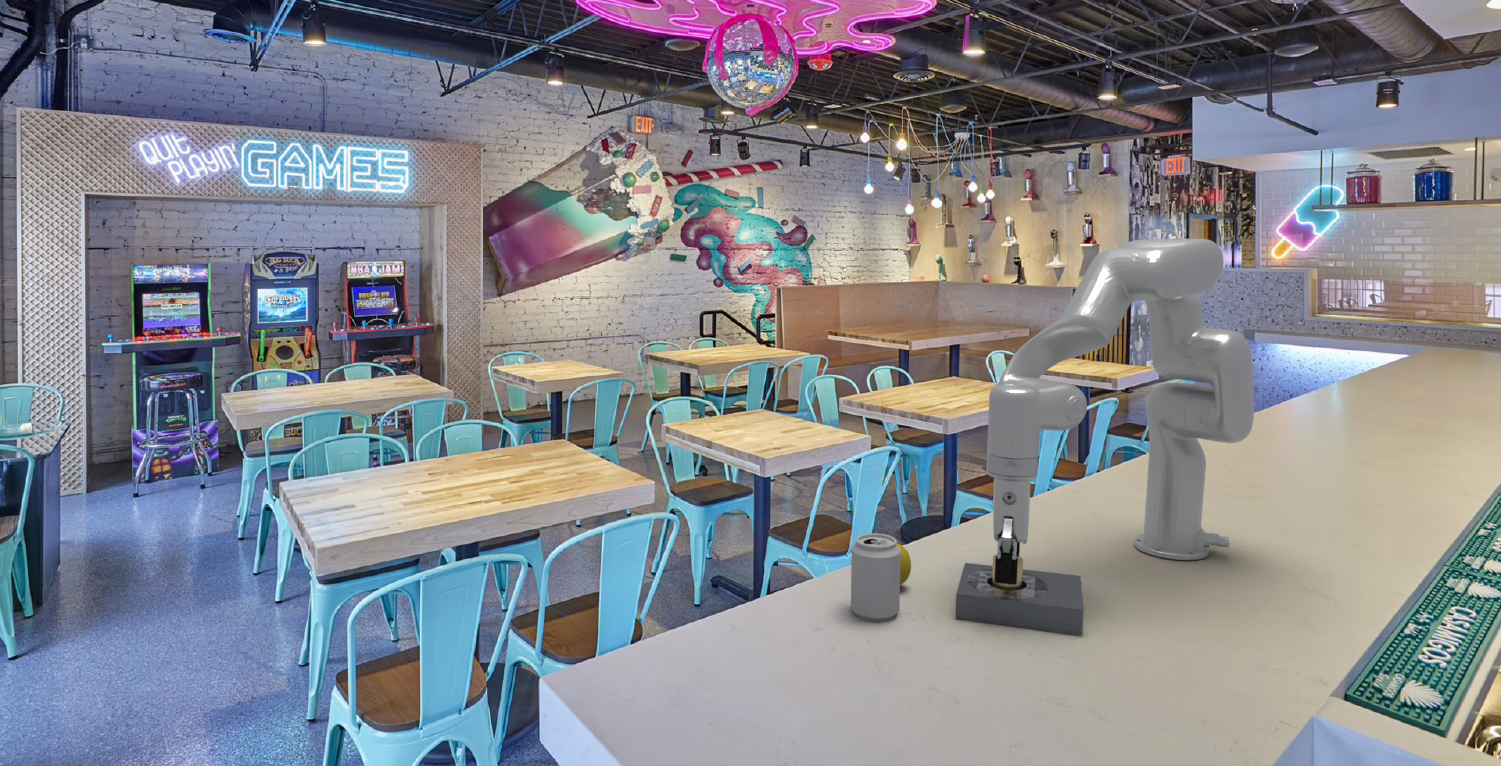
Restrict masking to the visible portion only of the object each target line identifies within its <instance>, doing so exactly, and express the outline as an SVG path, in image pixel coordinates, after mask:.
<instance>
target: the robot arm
mask: <svg viewBox="0 0 1501 766" xmlns="http://www.w3.org/2000/svg"><path fill="white" fill-rule="evenodd" d="M1223 254H1224V253H1223V251H1222V250H1221V247H1220V246H1219V245H1218V244H1216V243H1215V241H1213V240H1210V239H1207V238H1154V239H1153V238H1152V239H1151V238H1149V239H1147V238H1146V239H1136V240H1132V241H1127V242H1125V243H1123V244H1121V245H1120V246H1119V247H1116V248H1109V249H1106V250H1102V251H1101V252H1099V253H1098V254H1097V255H1096V256H1094V258H1093V259H1092V261H1091V262H1090V264H1089V265H1088V266H1087V267H1088V268H1087V269H1086V271H1085V273H1084V275H1083V276H1082V279H1080V282H1079V284H1078V286H1077V288H1076V289H1075V292H1073V296H1072V297H1071V299H1070V301H1069V303H1068V304H1067V307H1066V308H1065V310H1064V312H1063V314H1062V316H1061V317H1060V318H1059V319H1058V320H1057V321H1055V322H1054V323H1052V324H1050V325H1049V326H1047V327H1045V328H1044V329H1042V330H1041V331H1039V332H1038V333H1037V334H1036V335H1034V336H1033V337H1032V338H1030V339H1029V340H1028V341H1026V342H1025V343H1024V344H1023V345H1022V346H1020V347H1019V349H1018V350H1016V351H1015V353H1014V354H1013V356H1012V357H1011V359H1010V361H1009V362H1008V364H1007V366H1006V368H1005V369H1004V370H1003V373H1002V374H1001V377H1000V379H999V381H998V383H997V385H995V386H994V387H992V388H991V390H990V393H989V397H988V417H987V418H988V421H987V422H988V423H987V447H986V448H987V449H986V450H987V451H986V470H985V472H986V475H988V476H989V477H992V478H993V495H992V496H993V497H992V498H993V500H992V510H993V511H992V521H993V522H992V525H993V526H992V527H993V540H995V541H996V542H997V549H996V550H997V551H996V554H997V556H996V558H995V582H996V583H1003V584H1011V585H1016V583H1017V568H1018V558H1016V555H1017V556H1020V552H1021V551H1020V550H1021V549H1020V547H1021V543H1022V545H1025V544H1027V543H1028V539H1029V538H1028V537H1029V525H1030V524H1029V523H1030V503H1031V480H1033V479H1036V478H1038V471H1039V469H1038V466H1039V465H1038V464H1039V448H1040V447H1039V446H1040V433H1041V431H1055V432H1056V431H1068V430H1071V429H1073V428H1075V427H1077V426H1078V425H1079V424H1080V423H1081V422H1082V421H1083V419H1084V418H1085V416H1086V413H1087V411H1088V410H1087V409H1088V401H1087V397H1086V396H1085V394H1084V392H1083V391H1082V390H1081V389H1080V388H1079V387H1077V386H1075V385H1073V384H1071V383H1068V382H1064V381H1058V380H1057V381H1055V380H1051V379H1050V380H1049V379H1044V378H1041V377H1042V375H1044V374H1045V373H1046V372H1047V371H1048V370H1050V369H1051V368H1052V367H1054V366H1057V365H1058V364H1059V363H1062V362H1064V361H1067V360H1070V359H1073V358H1076V357H1080V356H1082V355H1083V356H1085V355H1086V354H1089V353H1092V352H1095V351H1098V350H1101V349H1103V348H1105V347H1107V346H1108V345H1109V344H1110V343H1112V340H1113V339H1114V336H1115V334H1116V332H1117V331H1118V329H1119V327H1120V324H1121V323H1122V320H1123V318H1124V316H1125V315H1126V313H1127V311H1128V309H1129V308H1130V306H1131V304H1132V303H1133V302H1134V301H1140V302H1141V301H1144V302H1145V305H1146V308H1147V313H1148V325H1149V339H1150V340H1149V341H1150V352H1151V359H1152V360H1151V361H1152V365H1153V369H1154V371H1155V372H1156V373H1157V374H1159V375H1160V376H1162V377H1165V378H1169V379H1174V380H1180V381H1181V380H1183V381H1191V382H1198V383H1205V384H1206V383H1207V384H1210V385H1211V386H1207V385H1202V384H1201V385H1200V384H1195V383H1185V382H1165V383H1162V384H1160V385H1157V386H1156V387H1154V388H1152V390H1151V391H1150V392H1149V395H1148V396H1147V398H1146V399H1147V400H1146V404H1145V405H1146V406H1145V407H1146V408H1145V411H1146V421H1147V427H1148V439H1149V443H1148V444H1149V445H1148V447H1149V449H1148V464H1147V465H1148V468H1147V479H1146V482H1147V483H1146V496H1145V497H1146V498H1145V510H1144V525H1143V526H1144V527H1143V534H1139V535H1136V536H1135V537H1134V540H1133V545H1134V546H1135V548H1136V549H1137V550H1138V551H1140V552H1142V553H1145V554H1148V555H1150V556H1151V555H1152V556H1153V557H1158V558H1163V559H1168V560H1176V561H1177V560H1178V561H1196V560H1202V559H1204V558H1207V557H1208V556H1209V551H1210V549H1209V548H1210V546H1216V547H1219V548H1229V547H1230V537H1229V536H1222V535H1221V536H1220V534H1219V533H1214V532H1211V533H1209V532H1205V531H1204V529H1203V527H1202V519H1203V518H1202V517H1203V506H1204V492H1205V483H1206V480H1205V479H1206V469H1207V462H1206V461H1207V460H1206V455H1205V453H1204V450H1203V448H1202V446H1201V444H1200V442H1199V440H1198V439H1200V440H1206V441H1212V442H1218V443H1225V444H1236V443H1239V442H1242V441H1244V440H1245V439H1246V438H1247V437H1248V436H1249V434H1250V433H1251V431H1252V428H1253V425H1254V418H1255V417H1254V415H1255V407H1254V406H1255V400H1254V397H1255V396H1254V377H1253V376H1254V375H1253V374H1254V372H1253V367H1254V366H1253V356H1252V350H1251V347H1250V344H1249V342H1248V340H1247V338H1246V337H1245V336H1244V335H1243V334H1242V333H1239V332H1238V331H1235V330H1230V329H1223V328H1212V327H1211V328H1207V327H1206V326H1205V324H1204V319H1203V311H1202V301H1201V297H1200V294H1199V293H1202V292H1205V291H1208V290H1209V289H1210V288H1212V287H1213V286H1214V285H1216V283H1217V281H1219V278H1221V275H1222V273H1223V269H1224V263H1225V261H1224V260H1225V259H1224V255H1223Z"/></svg>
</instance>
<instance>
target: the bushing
mask: <svg viewBox="0 0 1501 766" xmlns="http://www.w3.org/2000/svg"><path fill="white" fill-rule="evenodd" d="M996 556H997V553H995V554H994V555H993V556H992V566H993V570H992V587H995V588H998V589H1002V590H1010V591H1012V590H1022V573H1023V568H1024V559H1023V558H1022V556H1020V555H1019V556H1017V555H1016V558H1018V568H1017V583H1016V585H1011V584H1003V583H996V582H995V558H996Z"/></svg>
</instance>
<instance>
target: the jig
mask: <svg viewBox="0 0 1501 766" xmlns="http://www.w3.org/2000/svg"><path fill="white" fill-rule="evenodd" d="M992 570H993V565H988V564H987V565H986V564H979V563H969V562H965V563H964V565H963V568H962V572H961V576H960V580H959V583H958V585H957V589H956V590H957V591H956V593H955V594H956V595H955V617H954V618H955V620H963V621H970V622H976V623H984V624H991V625H999V626H1006V627H1014V628H1020V627H1021V629H1029V630H1036V631H1042V632H1043V631H1045V632H1050V633H1057V632H1058V634H1067V635H1072V636H1073V635H1074V636H1079V635H1080V636H1079V637H1081V636H1083V625H1084V624H1083V623H1084V598H1083V591H1082V590H1083V589H1082V580H1081V579H1082V578H1081V577H1082V576H1081V575H1075V574H1069V573H1068V574H1066V573H1059V572H1058V573H1057V572H1051V571H1050V572H1049V571H1040V570H1033V569H1032V570H1031V569H1023V573H1022V590H1012V591H1010V590H1002V589H998V588H995V587H992Z"/></svg>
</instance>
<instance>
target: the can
mask: <svg viewBox="0 0 1501 766" xmlns="http://www.w3.org/2000/svg"><path fill="white" fill-rule="evenodd" d="M896 543H898V541H897V539H896V538H895V537H893V536H891V535H889V534H883V533H863V534H861V535H858V536H857V537H856V538H855V543H854V544H853V545H852V546H851V562H850V563H851V567H850V568H851V570H850V571H851V573H850V575H851V576H850V609H851V610H852V612H853V613H854V614H855V615H856V616H857V617H859V618H861V619H862V620H865V621H871V622H883V621H888V620H890V619H892V618H894V616H896V615H897V614H898V613H899V612H900V600H901V599H900V596H901V595H900V593H901V587H900V586H901V585H900V562H901V550H900V548H899V547H898V546H897V545H896Z"/></svg>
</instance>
